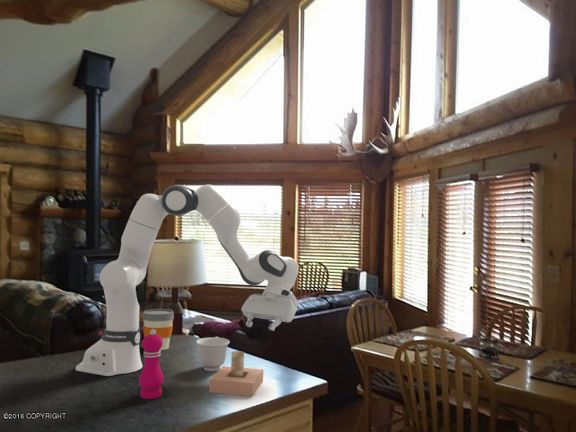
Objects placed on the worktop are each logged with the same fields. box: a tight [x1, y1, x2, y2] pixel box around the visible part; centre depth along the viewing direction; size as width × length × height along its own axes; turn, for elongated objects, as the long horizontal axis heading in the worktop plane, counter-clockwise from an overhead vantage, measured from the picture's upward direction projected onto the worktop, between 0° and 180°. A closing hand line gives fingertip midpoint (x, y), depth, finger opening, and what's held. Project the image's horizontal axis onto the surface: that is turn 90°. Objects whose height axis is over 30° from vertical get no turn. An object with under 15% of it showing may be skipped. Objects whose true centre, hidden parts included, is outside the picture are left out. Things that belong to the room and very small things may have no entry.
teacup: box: [195, 336, 230, 372], centre depth 175 cm, size 12×15×10 cm
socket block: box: [208, 365, 264, 397], centre depth 156 cm, size 14×14×4 cm
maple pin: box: [230, 350, 245, 378], centre depth 156 cm, size 4×4×11 cm
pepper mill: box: [138, 329, 164, 400], centre depth 146 cm, size 7×7×20 cm
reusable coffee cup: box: [142, 308, 175, 351], centre depth 200 cm, size 13×13×15 cm
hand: (259, 327), depth 166 cm, fingers open, 8 cm apart
